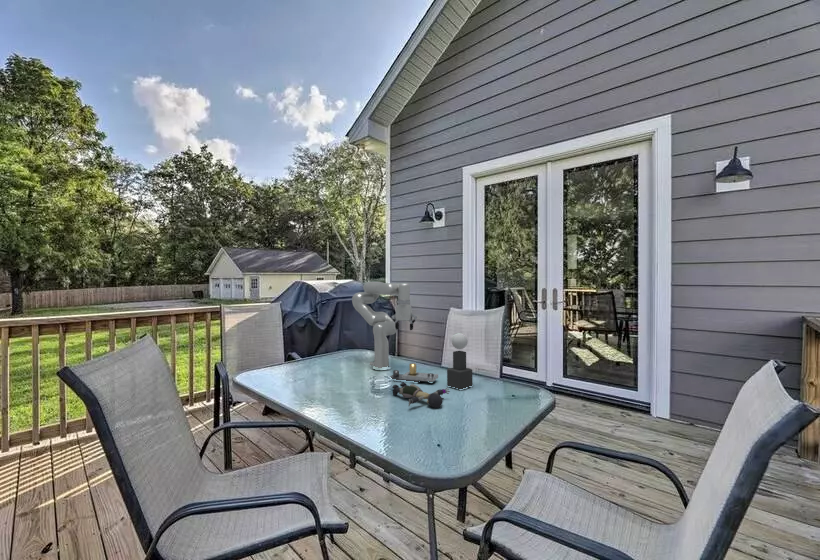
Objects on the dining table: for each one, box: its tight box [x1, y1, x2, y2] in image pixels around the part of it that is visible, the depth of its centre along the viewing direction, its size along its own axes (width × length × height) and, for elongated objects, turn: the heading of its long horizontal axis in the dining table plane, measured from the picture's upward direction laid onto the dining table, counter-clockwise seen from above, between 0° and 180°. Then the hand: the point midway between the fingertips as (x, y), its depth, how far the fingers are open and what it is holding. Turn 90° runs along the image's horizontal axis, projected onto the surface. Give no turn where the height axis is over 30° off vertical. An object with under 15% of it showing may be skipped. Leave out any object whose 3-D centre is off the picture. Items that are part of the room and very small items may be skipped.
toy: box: [391, 382, 451, 409], centre depth 181 cm, size 27×7×30 cm
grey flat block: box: [389, 369, 439, 382], centre depth 219 cm, size 28×10×5 cm, turn 68°
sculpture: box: [446, 332, 474, 389], centre depth 205 cm, size 10×10×30 cm
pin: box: [408, 362, 417, 376], centre depth 219 cm, size 4×4×10 cm
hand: (404, 329), depth 235 cm, fingers open, 9 cm apart
